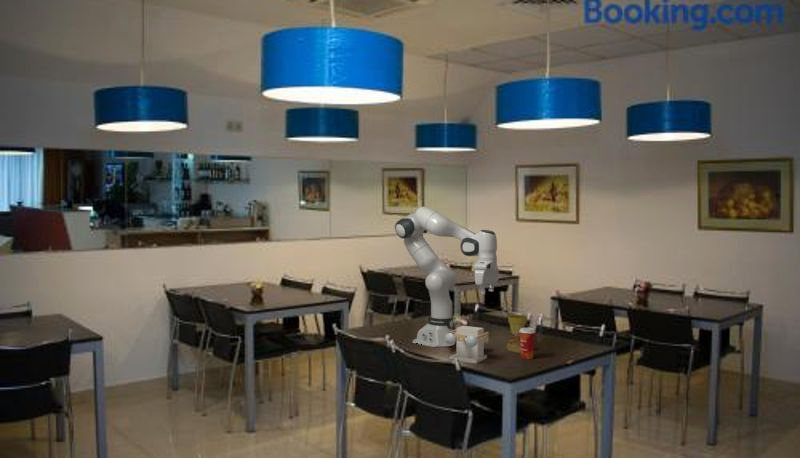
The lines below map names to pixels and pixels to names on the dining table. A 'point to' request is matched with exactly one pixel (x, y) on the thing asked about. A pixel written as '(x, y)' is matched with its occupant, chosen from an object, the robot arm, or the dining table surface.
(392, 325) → the dining table surface
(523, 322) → the plant pot
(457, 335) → the glasses
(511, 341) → the pastry
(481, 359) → the white upright box
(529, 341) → the paper cup
